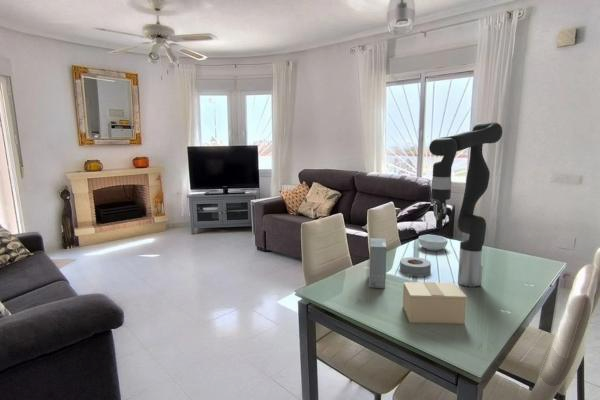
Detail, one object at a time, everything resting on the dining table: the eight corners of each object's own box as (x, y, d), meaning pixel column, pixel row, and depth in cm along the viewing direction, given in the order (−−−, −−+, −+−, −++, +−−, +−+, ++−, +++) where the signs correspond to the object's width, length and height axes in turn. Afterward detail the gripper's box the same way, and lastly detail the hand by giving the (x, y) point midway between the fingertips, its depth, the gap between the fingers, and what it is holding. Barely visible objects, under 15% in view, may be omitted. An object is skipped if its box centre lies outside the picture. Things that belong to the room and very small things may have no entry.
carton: (453, 308, 138) (454, 285, 136) (464, 324, 126) (466, 298, 125) (402, 307, 140) (403, 284, 138) (409, 322, 128) (410, 297, 126)
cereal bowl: (420, 252, 209) (421, 241, 207) (416, 244, 225) (416, 234, 224) (450, 253, 206) (450, 242, 205) (443, 245, 222) (444, 235, 221)
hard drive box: (385, 288, 158) (386, 247, 154) (368, 287, 159) (369, 246, 156) (384, 276, 173) (385, 238, 169) (368, 275, 174) (369, 237, 171)
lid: (454, 285, 136) (454, 282, 136) (466, 298, 124) (466, 296, 124) (403, 284, 138) (403, 281, 138) (410, 297, 126) (410, 294, 126)
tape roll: (398, 274, 176) (398, 264, 175) (401, 264, 190) (401, 255, 189) (430, 278, 170) (430, 268, 169) (430, 267, 184) (431, 258, 183)
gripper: (456, 189, 133) (453, 232, 136) (445, 185, 146) (443, 224, 149) (436, 189, 134) (434, 232, 137) (427, 185, 147) (425, 224, 150)
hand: (439, 228), depth 143 cm, fingers closed
